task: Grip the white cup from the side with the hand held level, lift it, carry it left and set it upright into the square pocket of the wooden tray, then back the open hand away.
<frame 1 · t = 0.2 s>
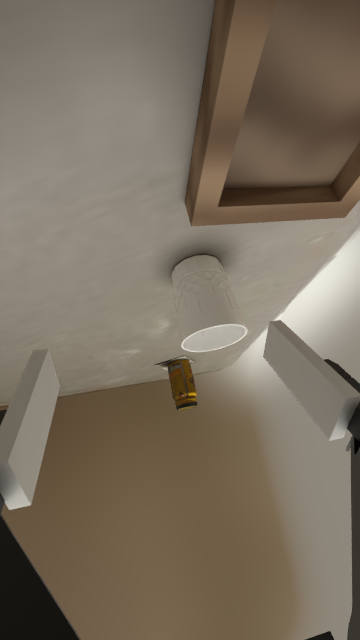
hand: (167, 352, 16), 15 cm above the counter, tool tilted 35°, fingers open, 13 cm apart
white cup: (195, 269, 36), on the counter
wooden tray: (303, 108, 20), on the counter
condiment: (174, 362, 72), on the counter
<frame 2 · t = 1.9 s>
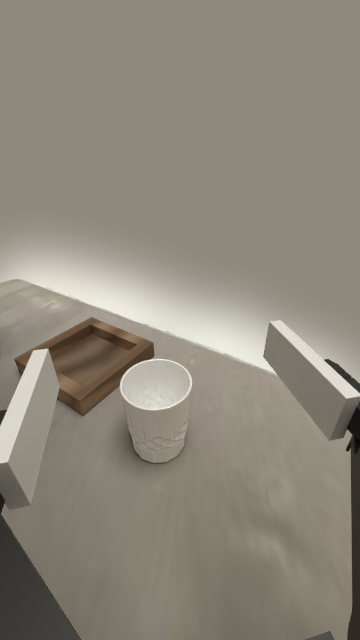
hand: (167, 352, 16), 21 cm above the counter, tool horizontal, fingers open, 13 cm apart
white cup: (159, 439, 35), on the counter
wooden tray: (89, 364, 47), on the counter
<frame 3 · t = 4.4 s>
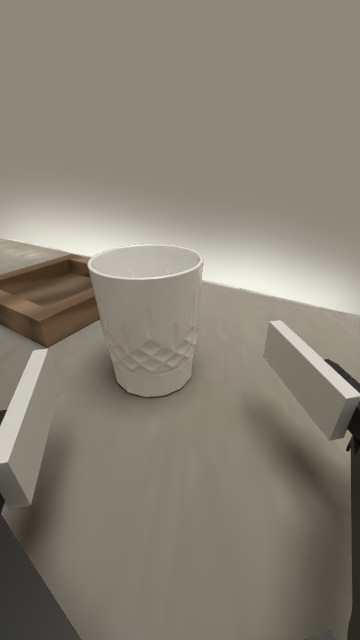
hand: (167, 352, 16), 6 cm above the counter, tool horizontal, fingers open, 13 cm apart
white cup: (154, 371, 24), on the counter
wooden tray: (64, 299, 36), on the counter
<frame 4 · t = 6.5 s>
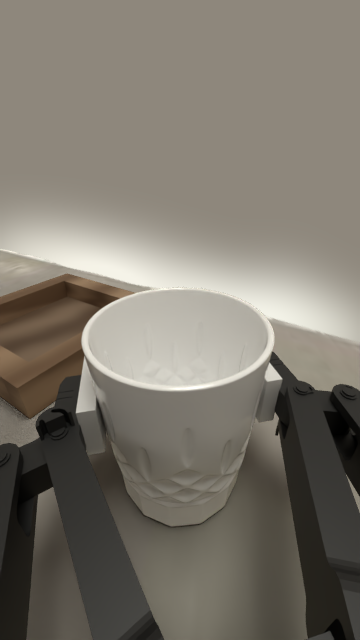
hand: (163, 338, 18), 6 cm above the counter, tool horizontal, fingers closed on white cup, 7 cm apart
white cup: (180, 466, 17), on the counter, touching gripper
wooden tray: (57, 335, 29), on the counter
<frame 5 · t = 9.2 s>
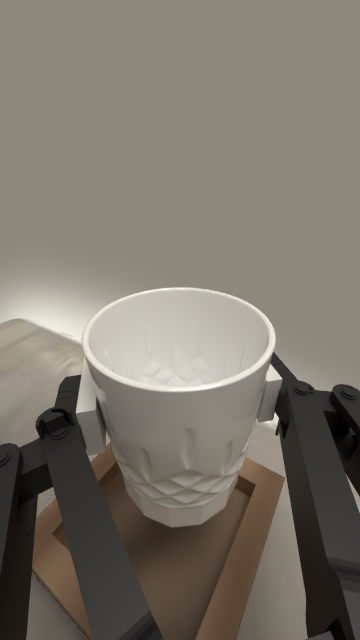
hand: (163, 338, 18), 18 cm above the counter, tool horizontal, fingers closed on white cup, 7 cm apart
white cup: (180, 466, 17), point 12 cm above the counter, touching gripper
wooden tray: (162, 525, 24), on the counter
when the fingers open (8 cm above the counter, at t = 11.7 s): white cup drops 1 cm, resting on wooden tray.
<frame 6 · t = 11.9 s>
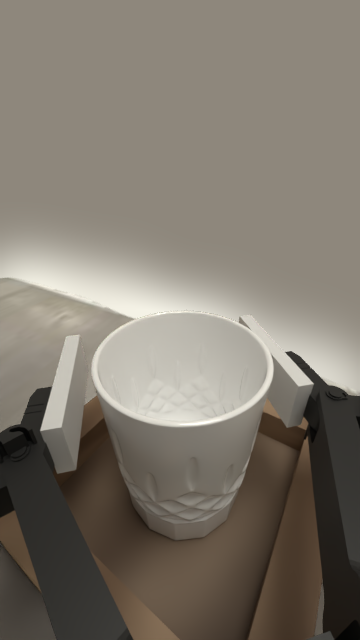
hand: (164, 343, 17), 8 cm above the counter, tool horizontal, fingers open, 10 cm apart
white cup: (183, 479, 17), point 1 cm above the counter, touching wooden tray
wooden tray: (180, 485, 18), on the counter
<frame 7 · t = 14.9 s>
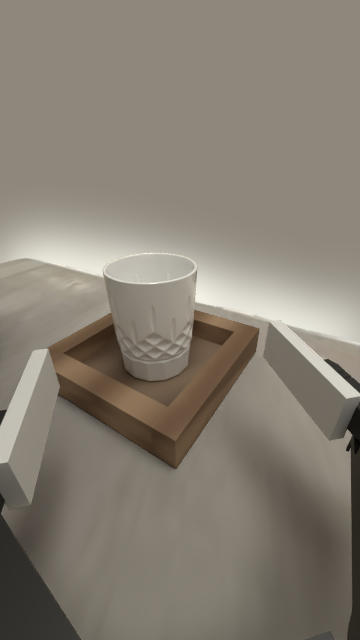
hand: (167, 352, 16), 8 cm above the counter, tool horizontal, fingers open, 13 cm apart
white cup: (156, 361, 28), point 1 cm above the counter, touching wooden tray
wooden tray: (155, 365, 28), on the counter
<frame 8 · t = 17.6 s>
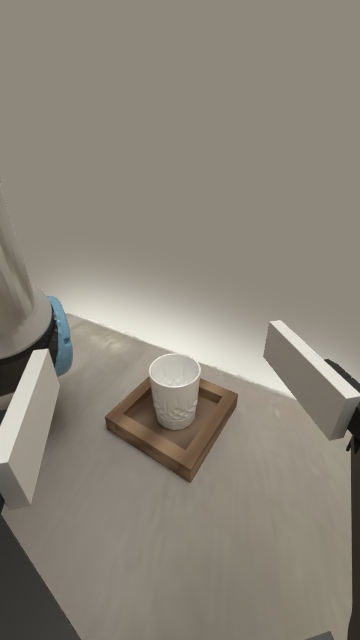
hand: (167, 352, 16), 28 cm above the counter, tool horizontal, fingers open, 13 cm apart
white cup: (175, 414, 46), point 1 cm above the counter, touching wooden tray
wooden tray: (174, 417, 47), on the counter
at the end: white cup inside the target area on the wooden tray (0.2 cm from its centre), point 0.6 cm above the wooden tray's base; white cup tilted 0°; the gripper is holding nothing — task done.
